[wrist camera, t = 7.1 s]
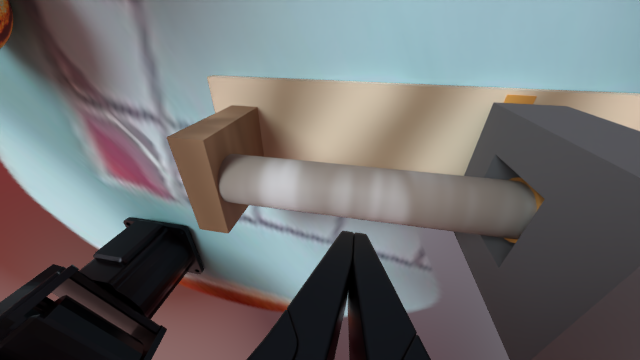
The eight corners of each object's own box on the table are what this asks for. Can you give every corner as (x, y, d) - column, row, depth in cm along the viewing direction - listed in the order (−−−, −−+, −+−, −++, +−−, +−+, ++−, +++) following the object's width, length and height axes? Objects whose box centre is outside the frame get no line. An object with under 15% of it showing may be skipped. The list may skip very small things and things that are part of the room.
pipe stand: (665, 94, 10) (941, 147, 5) (562, 227, 14) (661, 324, 10) (213, 75, 13) (123, 96, 8) (237, 188, 18) (187, 246, 13)
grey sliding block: (567, 106, 10) (943, 235, 4) (499, 223, 14) (620, 394, 7) (493, 102, 11) (704, 211, 4) (447, 216, 14) (515, 372, 8)
